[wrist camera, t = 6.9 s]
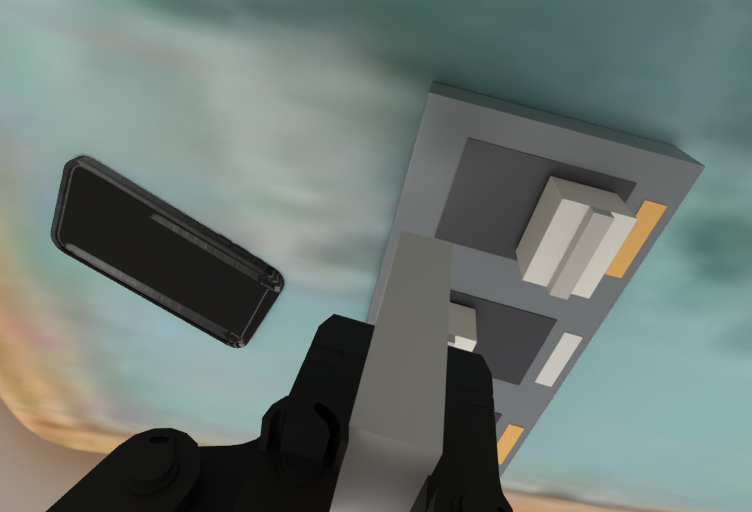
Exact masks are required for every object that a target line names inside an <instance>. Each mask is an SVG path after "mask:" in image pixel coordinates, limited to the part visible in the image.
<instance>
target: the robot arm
mask: <svg viewBox="0 0 752 512" xmlns="http://www.w3.org/2000/svg"><path fill="white" fill-rule="evenodd" d="M451 265H452V244H449V243H446V242H442V241H439V240H435V239H431V238H428V237H424V236H421V235H417V234H413V233H410V232H406V231H403V230H401V233H400V236H399V240H398V243H397V247H396V250H395V254H394V257H393V261H392V264H391V267H390V271H389V274H388V278H387V281H386V285H385V288H384V292H383V295H382V299H381V302H380V306H379V310H378V313H377V317H376V321H375V324H374V325H371V324H368V323H364V322H361V321H357V320H354V319H350V318H347V317H343V316H340V315H336V314H333V315H332V316H331V317H330V318H328V319H327V320H326V321H325V322H323V323H322V324H321V325H320V326H319V327H318V330H317V332H316V334H315V336H314V339H313V341H312V344H311V346H310V348H309V350H308V353H307V355H306V357H305V360H304V362H303V364H302V366H301V369H300V371H299V373H298V375H297V378H296V380H295V382H294V385H293V387H292V389H291V391H290V394H289V396H285V397H284V398H282V399H281V400H279V401H277V402H276V403H274V404H272V405H271V407H270V408H269V409H268V411H267V412H266V413H265V415H264V416H263V417H262V426H261V435H260V437H259V438H257V439H255V440H252V441H250V442H247V443H244V444H238V445H231V446H202V447H198V444H197V443H196V442H195V441H194V440H193V439H192V438H191V437H190V436H189V435H188V434H187V433H185V432H182V431H179V430H176V429H173V428H154V429H151V430H148V431H145V432H142V433H139V434H136V435H134V436H132V437H131V438H130V439H128V440H127V441H125V442H124V443H122V444H121V445H119V446H118V447H117V448H116V449H114V450H113V451H112V452H111V453H110V454H109V455H108V456H107V457H106V458H105V459H103V460H102V461H101V462H100V463H99V464H98V465H97V466H96V467H95V468H94V469H92V470H91V471H90V472H89V473H88V474H87V475H86V476H85V477H83V478H82V479H81V480H80V481H79V482H78V483H77V484H76V485H75V486H74V487H72V488H71V489H70V490H69V491H68V492H67V493H66V494H65V495H64V496H62V498H60V499H59V500H58V501H57V502H56V503H55V504H54V505H53V506H51V507H50V508H49V509H48V510H47V511H46V512H513V510H512V508H511V506H510V504H509V503H508V501H507V500H506V498H505V496H504V495H503V492H502V489H501V484H500V478H499V464H498V450H497V436H496V422H495V415H494V411H495V408H494V398H493V380H492V373H491V371H490V369H489V367H488V365H487V364H486V362H485V360H484V358H483V356H482V355H480V354H477V353H473V352H470V351H467V350H463V349H460V348H456V347H453V346H449V345H448V327H449V306H450V285H451Z"/></svg>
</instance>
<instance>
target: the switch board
mask: <svg viewBox="0 0 752 512" xmlns="http://www.w3.org/2000/svg"><path fill="white" fill-rule="evenodd" d="M704 167H705V166H704V165H702V164H701V163H699V162H698V161H696V160H695V159H693V158H692V157H690V156H689V155H687V154H686V153H684V152H683V151H681V150H680V149H678V148H677V147H675V146H672V145H669V144H665V143H661V142H657V141H654V140H650V139H646V138H643V137H639V136H635V135H631V134H628V133H624V132H620V131H616V130H613V129H609V128H605V127H601V126H598V125H594V124H590V123H586V122H583V121H579V120H575V119H571V118H568V117H564V116H560V115H556V114H553V113H549V112H545V111H541V110H538V109H534V108H530V107H526V106H523V105H519V104H515V103H511V102H508V101H504V100H500V99H496V98H493V97H489V96H485V95H481V94H478V93H474V92H470V91H466V90H463V89H459V88H455V87H452V86H448V85H444V84H440V83H437V82H433V81H432V84H431V87H430V90H429V93H428V97H427V101H426V104H425V108H424V112H423V115H422V119H421V123H420V126H419V130H418V134H417V137H416V141H415V145H414V148H413V152H412V156H411V159H410V163H409V167H408V170H407V174H406V178H405V181H404V185H403V189H402V192H401V196H400V199H399V203H398V207H397V210H396V214H395V218H394V221H393V225H392V229H391V232H390V236H389V240H388V243H387V247H386V251H385V254H384V258H383V262H382V265H381V269H380V273H379V276H378V280H377V284H376V287H375V291H374V295H373V298H372V302H371V306H370V309H369V313H368V317H367V320H366V323H368V324H371V325H374V324H375V321H376V317H377V313H378V310H379V306H380V302H381V299H382V295H383V292H384V288H385V285H386V281H387V278H388V274H389V271H390V267H391V264H392V261H393V257H394V254H395V250H396V247H397V243H398V240H399V236H400V233H401V230H403V231H406V232H410V233H413V234H417V235H421V236H424V237H428V238H431V239H435V240H439V241H442V242H446V243H449V244H452V265H451V285H450V302H451V303H454V304H458V305H461V306H465V307H468V308H472V309H475V315H476V334H477V342H476V345H475V347H474V349H473V351H472V352H473V353H477V354H480V355H482V356H483V358H484V360H485V362H486V364H487V365H488V367H489V369H490V371H491V373H492V380H493V398H494V408H495V411H494V415H495V422H496V436H497V450H498V464H499V478H500V477H501V476H502V474H503V473H504V471H505V469H506V468H507V466H508V465H509V463H510V462H511V460H512V459H513V457H514V456H515V454H516V453H517V451H518V450H519V448H520V447H521V445H522V444H523V442H524V441H525V439H526V438H527V436H528V435H529V433H530V432H531V430H532V428H533V427H534V425H535V424H536V422H537V421H538V419H539V418H540V416H541V415H542V413H543V412H544V410H545V409H546V407H547V406H548V404H549V403H550V401H551V400H552V398H553V397H554V395H555V394H556V392H557V391H558V389H559V387H560V386H561V384H562V383H563V381H564V380H565V378H566V377H567V375H568V374H569V372H570V371H571V369H572V368H573V366H574V365H575V363H576V362H577V360H578V359H579V357H580V356H581V354H582V353H583V351H584V350H585V348H586V346H587V345H588V343H589V342H590V340H591V339H592V337H593V336H594V334H595V333H596V331H597V330H598V328H599V327H600V325H601V324H602V322H603V321H604V319H605V318H606V316H607V315H608V313H609V312H610V310H611V309H612V307H613V305H614V304H615V302H616V301H617V299H618V298H619V296H620V295H621V293H622V292H623V290H624V289H625V287H626V286H627V284H628V283H629V281H630V280H631V278H632V277H633V275H634V274H635V272H636V271H637V269H638V268H639V266H640V264H641V263H642V261H643V260H644V258H645V257H646V255H647V254H648V252H649V251H650V249H651V248H652V246H653V245H654V243H655V242H656V240H657V239H658V237H659V236H660V234H661V233H662V231H663V230H664V228H665V227H666V225H667V223H668V222H669V220H670V219H671V217H672V216H673V214H674V213H675V211H676V210H677V208H678V207H679V205H680V204H681V202H682V201H683V199H684V198H685V196H686V195H687V193H688V192H689V190H690V189H691V187H692V186H693V184H694V183H695V181H696V179H697V178H698V176H699V175H700V173H701V172H702V170H703V169H704ZM550 176H553V177H556V178H560V179H564V180H568V181H571V182H575V183H579V184H582V185H586V186H590V187H593V188H597V189H601V190H604V191H608V192H612V193H615V194H618V196H619V197H620V198H621V199H622V201H623V202H624V203H625V204H626V205H627V207H628V208H629V209H630V210H631V211H632V213H633V214H634V215H635V216H636V218H637V219H638V220H637V221H636V223H635V225H634V226H633V228H632V229H631V231H630V233H629V234H628V236H627V238H626V239H625V241H624V242H623V244H622V246H621V247H620V249H619V251H618V252H617V254H616V256H615V257H614V259H613V260H612V262H611V264H610V265H609V267H608V269H607V270H606V272H605V273H604V275H603V277H602V278H601V280H600V282H599V283H598V285H597V287H596V288H595V290H594V291H593V293H592V295H591V296H590V298H585V297H581V296H578V295H574V294H571V295H570V296H569V298H568V300H566V299H563V298H559V297H555V296H552V295H549V293H548V289H547V287H545V286H542V285H538V284H535V283H531V282H527V281H524V280H522V277H521V272H520V268H519V263H518V259H517V255H516V249H517V247H518V245H519V243H520V241H521V239H522V236H523V234H524V232H525V230H526V228H527V226H528V224H529V221H530V219H531V217H532V215H533V213H534V211H535V208H536V206H537V204H538V202H539V200H540V198H541V195H542V193H543V191H544V189H545V187H546V185H547V183H548V180H549V178H550Z"/></svg>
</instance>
